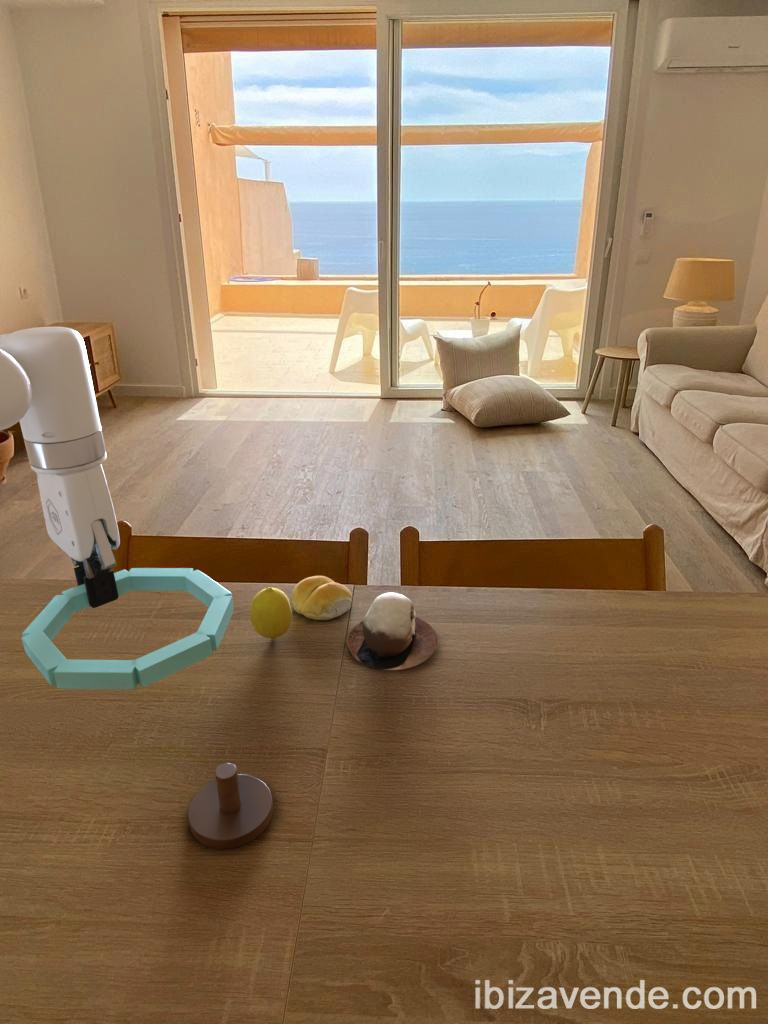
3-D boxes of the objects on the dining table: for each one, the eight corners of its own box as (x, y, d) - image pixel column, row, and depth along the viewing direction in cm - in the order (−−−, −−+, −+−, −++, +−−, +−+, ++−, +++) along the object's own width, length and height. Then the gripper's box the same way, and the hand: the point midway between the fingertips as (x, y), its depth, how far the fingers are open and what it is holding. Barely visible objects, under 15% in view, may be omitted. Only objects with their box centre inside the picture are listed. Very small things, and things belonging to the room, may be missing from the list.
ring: (76, 719, 62) (71, 702, 61) (6, 628, 75) (2, 613, 75) (264, 630, 74) (262, 614, 73) (175, 565, 88) (173, 551, 87)
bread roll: (322, 585, 108) (321, 562, 106) (361, 606, 102) (360, 583, 100) (279, 605, 103) (277, 581, 101) (317, 629, 97) (316, 604, 95)
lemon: (245, 646, 93) (239, 594, 90) (265, 624, 98) (260, 574, 95) (282, 654, 91) (277, 601, 88) (300, 631, 96) (297, 581, 93)
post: (216, 865, 62) (209, 819, 60) (174, 812, 68) (166, 769, 66) (289, 815, 67) (285, 771, 65) (244, 770, 73) (239, 729, 70)
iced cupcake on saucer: (359, 604, 100) (405, 564, 95) (409, 655, 101) (457, 618, 96) (325, 648, 90) (375, 606, 85) (381, 704, 90) (434, 666, 85)
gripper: (5, 440, 76) (42, 585, 84) (57, 477, 65) (95, 640, 73) (74, 425, 81) (103, 563, 88) (133, 458, 70) (161, 612, 78)
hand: (99, 597), depth 81 cm, fingers closed on ring, 2 cm apart
